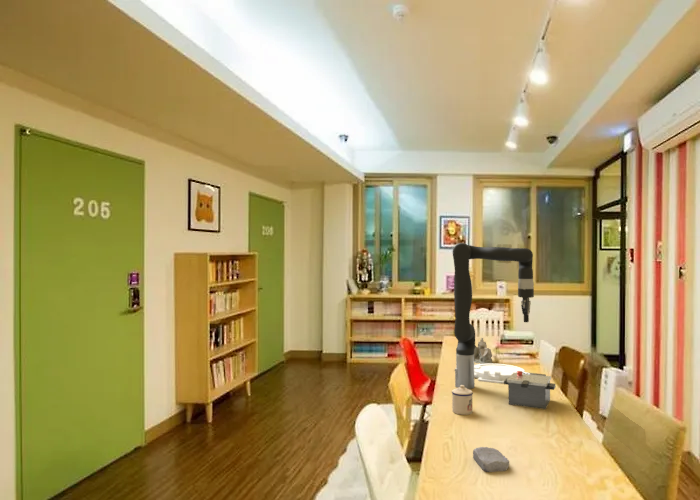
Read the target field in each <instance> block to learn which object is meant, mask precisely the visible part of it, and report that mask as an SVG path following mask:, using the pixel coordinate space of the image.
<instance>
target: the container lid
mask: <svg viewBox="0 0 700 500" xmlns="http://www.w3.org/2000/svg"><path fill="white" fill-rule="evenodd" d="M517 371H522V372H526V370H525V369H524V368H522V367H519V366H516V365H512V364H508V363H506V364H504V363H493V362H492V363H487V364H479V363H476V364H474V379H475V378H476V379H477V381H478V382H484V383H495V384H504V381H505V380H506V378H507V379H508V378H509V377H510V376H511V375H512V374H513V373H517ZM504 385H505V384H504Z"/></svg>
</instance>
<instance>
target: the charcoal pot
mask: <svg viewBox="0 0 700 500" xmlns="http://www.w3.org/2000/svg"><path fill="white" fill-rule="evenodd" d="M504 385H507V386H508V388H507V389H508V405H510V406H518V407H525V408H532V409H541V410H547V408H548V405H549V403H550V401H551V391H552V390H553V391H555V389H556V383H551V380H550V381H549V383H548V385H547V386H546V387H545V386H536V385H528V387H527V388H524V387H521V384H518V383H509V382H507V378H506V380H505V381H504Z"/></svg>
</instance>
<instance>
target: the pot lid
mask: <svg viewBox="0 0 700 500" xmlns="http://www.w3.org/2000/svg"><path fill="white" fill-rule="evenodd" d="M551 379H552V376H551V375H546V374H545V373H544V374H543V373H536V372H526V371H525V372H522V371H517V373H513V374H512V375H511V376H510V377H509V378H508V379H507V382H509V383H518V384H521V387H524V388H527V387H528V385H536V386H545V387H546V386H547V385H548V383H549V381H550V382H551Z"/></svg>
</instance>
